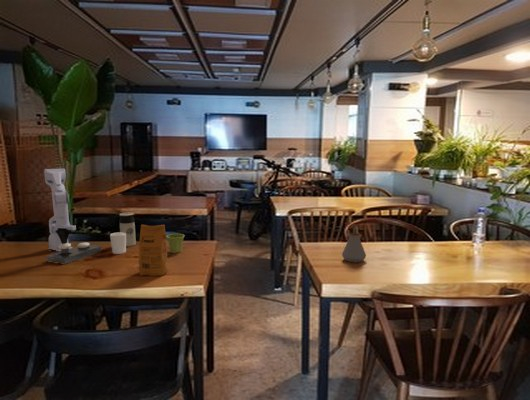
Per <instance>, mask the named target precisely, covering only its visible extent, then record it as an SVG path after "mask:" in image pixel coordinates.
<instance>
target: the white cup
mask: <svg viewBox="0 0 530 400" xmlns="http://www.w3.org/2000/svg"><path fill="white" fill-rule="evenodd" d="M109 238H110V245H111V251H112V254H114V255H121V254H122V255H123V254H125V253H126V252H127V247H126V233H124V232H120V231H118V232H113V233H110V235H109Z"/></svg>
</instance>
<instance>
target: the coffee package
mask: <svg viewBox="0 0 530 400" xmlns="http://www.w3.org/2000/svg"><path fill="white" fill-rule="evenodd" d="M139 232H140V233H139V243H138V267H139V276H140V277H141V276H151V277H159V276H164V275H165V274H166V273H167V272H168V270H169V263H168V262H169V261H168V239H167V237H166V236H167V233H166V225H165V224H159V225H147V224H141V225H140V231H139Z"/></svg>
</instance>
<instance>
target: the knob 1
mask: <svg viewBox="0 0 530 400" xmlns="http://www.w3.org/2000/svg"><path fill="white" fill-rule="evenodd" d="M70 247H72V243H69V242H68V243H66V244H59V245H58V248H59V249H61V255H69V248H70Z"/></svg>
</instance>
